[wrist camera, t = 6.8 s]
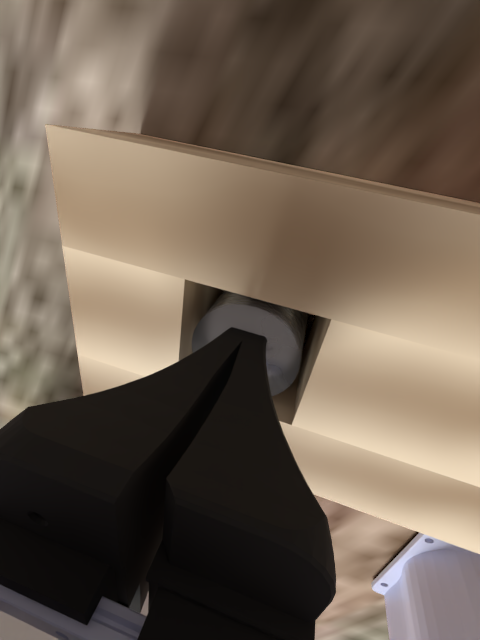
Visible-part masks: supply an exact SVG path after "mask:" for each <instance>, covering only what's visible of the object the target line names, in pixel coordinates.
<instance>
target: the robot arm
mask: <svg viewBox="0 0 480 640" xmlns="http://www.w3.org/2000/svg"><path fill="white" fill-rule="evenodd" d="M266 344H267V339H266V337H265V336H261V335H258V334H254V333H251V332H247V331H244V330H241V329H237V328H234V327H231V328H229V329H227V330H226V331H225V332H223V333H222V334H221V335H219V336H218V337H216V338H215V339H214V340H212V341H211V342H209V343H208V344H206V345H205V346H203V347H201V348H200V349H198V350H197V351H195V352H194V353H192V354H190V355H188V356H187V357H185V358H183V359H181V360H180V361H178V362H176V363H174V364H172V365H170V366H168V367H166V368H164V369H162V370H160V371H158V372H155V373H153V374H151V375H148V376H146V377H143V378H140V379H137V380H135V381H132V382H129V383H126V384H123V385H121V386H117V387H114V388H111V389H107V390H104V391H101V392H97V393H93V394H89V395H85V396H81V397H77V398H72V399H67V400H62V401H57V402H52V403H47V404H42V405H37V406H31V407H28V408H26V409H25V410H24V411H22V412H21V413H20V414H19V415H17V416H16V417H15V418H13V419H12V420H11V421H10V422H9V423H7V424H6V425H5V426H4V427H3V428H1V429H0V611H2V612H4V613H6V614H8V615H10V616H12V617H15V618H17V619H19V620H21V621H23V622H25V623H27V624H29V625H31V626H33V627H35V628H37V629H39V630H41V631H43V632H45V633H47V634H49V635H51V636H53V637H55V638H57V639H60V640H314V639H315V620H316V619H317V618H318V617H319V616H320V614H321V613H322V612H323V611H324V610H325V609H326V607H327V606H328V605H329V604H330V603H331V602H332V600H333V598H334V595H335V593H336V573H335V562H334V553H333V547H332V540H331V535H330V530H329V525H328V520H327V517H326V515H325V513H324V512H323V510H322V508H321V507H320V505H319V503H318V502H317V500H316V498H315V497H314V495H313V493H312V491H311V489H310V488H309V486H308V484H307V482H306V480H305V478H304V476H303V474H302V472H301V471H300V469H299V467H298V465H297V463H296V461H295V458H294V456H293V454H292V451H291V449H290V447H289V445H288V442H287V440H286V438H285V435H284V433H283V430H282V427H281V425H280V422H279V419H278V416H277V413H276V410H275V406H274V403H273V399H272V395H271V390H270V386H269V380H268V374H267V366H266ZM371 584H372V589H373V590H374V591H375V592H377V593H380V594H382V595H384V596H385V605H386V614H387V623H388V631H389V640H480V554H478V553H475V552H472V551H469V550H467V549H464V548H461V547H458V546H455V545H453V544H450V543H447V542H444V541H442V540H439V539H436V538H433V537H431V536H428V535H425V534H422V533H418V535H417V536H416V537H415V538H414V539H413V540H412V541H411V542H410V543H409V544H408V545H407V546H406V547H405V548H404V549H403V550H402V551H401V552H400V553H399V554H398V555H397V556H396V557H395V558H394V560H393V561H392V562H391V563H390V564H389V565H388V566H387V567H386V568H385V569H384V570H383V571H382V572H381V573H380V574H379V575H378V576H377V577H376V578H375V579H374V580H373V581H372V583H371ZM148 591H149V599H148V614H147V616H145V615H143V614H140V613H141V610H142V607H143V605H144V602H145V599H146V596H147V594H148Z"/></svg>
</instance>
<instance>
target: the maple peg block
mask: <svg viewBox="0 0 480 640" xmlns="http://www.w3.org/2000/svg"><path fill="white" fill-rule="evenodd" d="M45 126H46V133H47V140H48V147H49V154H50V161H51V168H52V176H53V183H54V190H55V197H56V204H57V211H58V218H59V225H60V233H61V240H62V247H63V254H64V261H65V268H66V275H67V282H68V289H69V297H70V304H71V311H72V318H73V325H74V332H75V339H76V346H77V353H78V361H79V368H80V375H81V382H82V389H83V396H85V395H89V394H93V393H97V392H101V391H104V390H107V389H111V388H114V387H117V386H121V385H123V384H126V383H129V382H132V381H135V380H137V379H140V378H143V377H146V376H148V375H151V374H153V373H155V372H158V371H160V370H162V369H164V368H166V367H168V366H170V365H172V364H174V363H176V362H178V361H180V360H181V359H183V358H185V357H187V356H188V355H190V354H192V353H193V352H192V337H193V333H194V330H195V328H196V326H197V324H198V323H199V321H200V320H201V319H202V318H203V316H204V315H205V314H206V313H207V311H208V310H209V309H210V308H211V306H212V305H213V304H214V303H215V301H216V300H217V299H218V298H219V297H220V295H221V294H222V290H226V291H229V292H233V293H237V294H240V295H244V296H248V297H251V298H255V299H259V300H262V301H266V302H270V303H273V304H277V305H281V306H284V307H288V308H292V309H295V310H299V311H302V312H306V313H310V314H313V315H316V316H315V319H314V322H313V325H312V328H311V331H310V334H309V337H308V340H307V343H306V345H305V348H304V351H303V353H302V356H301V362H300V368H299V371H298V374H297V376H296V378H295V380H294V381H293V383H292V384H291V385H290V386H289V387H288V388H287V389H286V390H284V391H283V392H281V393H279V394H277V395H275V396H272V399H273V403H274V406H275V410H276V413H277V416H278V419H279V422H280V425H281V427H282V430H283V433H284V435H285V438H286V440H287V442H288V445H289V447H290V449H291V451H292V454H293V456H294V458H295V461H296V463H297V465H298V467H299V469H300V471H301V472H302V474H303V476H304V478H305V480H306V482H307V484H308V486H309V488H310V489H311V491H312V493H313V494H314V495H317V496H320V497H322V498H325V499H328V500H331V501H334V502H336V503H339V504H342V505H345V506H347V507H350V508H353V509H356V510H358V511H361V512H364V513H367V514H370V515H372V516H375V517H378V518H381V519H383V520H386V521H389V522H392V523H394V524H397V525H400V526H403V527H406V528H408V529H411V530H414V531H417V532H419V533H422V534H425V535H428V536H431V537H433V538H436V539H439V540H442V541H444V542H447V543H450V544H453V545H455V546H458V547H461V548H464V549H467V550H469V551H472V552H475V553H478V554H480V203H477V202H472V201H467V200H463V199H458V198H453V197H448V196H443V195H438V194H433V193H428V192H423V191H418V190H413V189H408V188H403V187H399V186H394V185H389V184H384V183H379V182H374V181H369V180H364V179H359V178H354V177H349V176H344V175H339V174H335V173H330V172H325V171H320V170H315V169H310V168H305V167H300V166H295V165H290V164H285V163H280V162H276V161H271V160H266V159H261V158H256V157H251V156H246V155H241V154H236V153H231V152H226V151H221V150H216V149H212V148H207V147H202V146H197V145H192V144H187V143H182V142H177V141H172V140H167V139H162V138H157V137H152V136H148V135H143V134H136V133H126V132H116V131H106V130H97V129H87V128H77V127H67V126H57V125H48V124H45Z"/></svg>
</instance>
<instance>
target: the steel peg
mask: <svg viewBox="0 0 480 640" xmlns="http://www.w3.org/2000/svg"><path fill="white" fill-rule="evenodd" d="M307 318H308V313H306V312H302V311H299V310H295V309H292V308H288V307H284V306H281V305H277V304H273V303H270V302H266V301H262V300H259V299H255V298H251V297H248V296H244V295H240V294H237V293H233V292H229V291H226V290H224V292H223V293H222V294H221V295H220V297H219V298H218V299H217V300H216V301H215V303H214V304H213V305H212V306H211V308H210V309H209V310H208V311H207V313H206V314H205V315H204V316H203V318H202V319H201V320H200V321H199V323H198V324H197V326H196V328H195V330H194V333H193V337H192V352H193V353H194V352H195V351H197V350H198V349H200V348H201V347H203V346H205V345H206V344H208V343H209V342H211V341H212V340H214V339H215V338H216V337H218V336H219V335H221V334H222V333H223V332H225V331H226V330H227V329H229V328H231V327H234V328H237V329H241V330H244V331H247V332H251V333H254V334H258V335H261V336H265V337H266V339H267V344H266V366H267V374H268V380H269V386H270V390H271V395H272V396H275V395H277V394H279V393H281V392H283V391H284V390H286V389H287V388H288V387H289V386H290V385H291V384H292V383H293V381H294V380H295V378H296V376H297V374H298V371H299V368H300V362H301V356H302V350H303V343H304V337H305V331H306V325H307Z"/></svg>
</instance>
